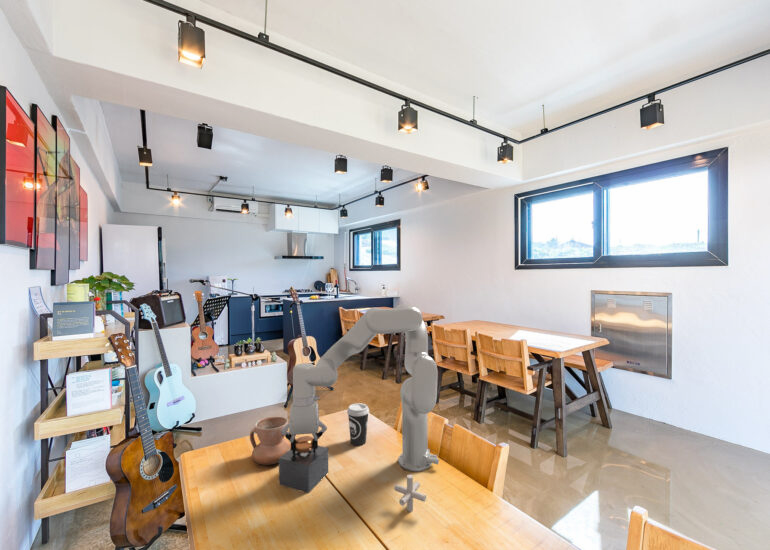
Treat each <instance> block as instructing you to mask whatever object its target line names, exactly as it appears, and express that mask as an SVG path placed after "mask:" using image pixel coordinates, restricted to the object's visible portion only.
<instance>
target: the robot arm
mask: <svg viewBox="0 0 770 550" xmlns="http://www.w3.org/2000/svg"><path fill="white" fill-rule="evenodd" d="M397 333H404V337H405V338H404V339H405V349H404V369H405V370H406V371H407V373H408V374H409V375H411V376H410V377H409V378H406V379H405V380H404V381H403V382H402V384H401V387H400V401H401V411H402V412H401V413H402V414H401V415H402V417H401V419H402V421H401V422H402V424H401V428H402V430H401V431H402V434H401V435H402V441H401V442H402V449H401V450H402V452H401V453H400V455H399V456H398V461H397V463H398V465H399V466H400V467H401V468H403V469H404V470H407V471H410V472H423V471H426V470H428V469H429V468H430V467H431V466H432V464H435V465H439V461H440V459H439V458H438V455H437V454H432V453H431V452H430V451H431V449H430V448H429V447H428V440H429V439H428V423H429V422H428V420H429V419H428V414H429V413H431V412H432V410H434V408H435V406H436V403H437V395H438V377H439V375H438V372H439V371H438V366H437V362H436V361H435V360H434V358H433V357H431V356H430V355H429V335H428V330H427V326H426V324H425V322H424V316H423V313H422V312H421V311H420V309H418V307H415V306H412V305H408V304H397V306H395V308H389V309H387V308H386V309H382V308H380V307H371V308H369V309H367V310H366V311H365V312H364V313H363V315H362V316H361V317H360V318H359V319H358V320H357V321H356V322H355V323H354V325H353V326H351V328H350V329H349V330H348V331H347V332H346V333H345V334H344V335H343V336H342V337H340V338H339V340H338V341H336V342H335V343H333V345H332V346H331V347H330V348H329V349H327V351H326V352H325V353H324V354H323V355H322V356H321V357H320V358H319V359H318V361H317V362H316V365H314V364H312V363H309V362H302V363H298V364H296V365H294V366H293V369H292V403H291V405H290V410H289V419H288V424H287V425H286V426H285V427H284V428H283V429H282V430H281V433H282V434H283V435H284V438H286V440H287V441H288V442H289V443H290V444H291V451H292V450H293V454H295V451H296V450H295V440H296V439H297V438H296V435H297V436H298V435H310V434H311V435H312V437H313V439H314V440H313V452H314V453H315V451H316V449H318V446H319V444H318V440H319V439H320V438H321V436H322V435H323V434H324V433H326V431H327V430H328V426H327V425H326V424H325V423H323V421H321V420H320V411H319V404H318V401H319V400H320V395H316V387H323V388H326V387H332V386H333V385H334V384H336V383H337V380H338V377H339V375H338V374H339V373H338V370H337V369H338V368H339V367H340V366H341V365H342V364H343V363H344V362H345V361H346V360H347V359H348V358H349V357H352V356H353V355H357V354H359V353H361V352H363V351H364V349H365V348H366V347H367V346H368V345H369V344H370V343H371V342H372V340H373V339H374V338H375V337H376V336H377V335H386V334H387V335H388V334H397ZM319 428H321V429H320V430H319ZM287 431H289V432H287Z"/></svg>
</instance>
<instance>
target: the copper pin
mask: <svg viewBox="0 0 770 550" xmlns="http://www.w3.org/2000/svg"><path fill="white" fill-rule="evenodd" d="M295 439H296V440H295V450H296V451H297V452H300V456H303V457H307V456H308V455H309V451H310V450H312V449H313V440H314V437H313V436H311V435H303V436H299V437H297V438H295Z"/></svg>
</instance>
